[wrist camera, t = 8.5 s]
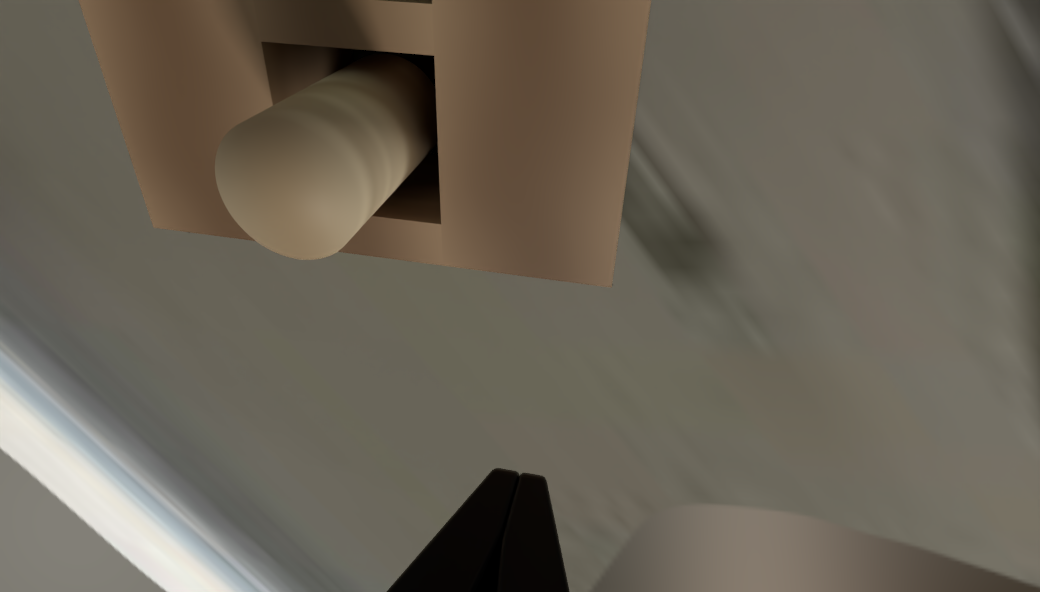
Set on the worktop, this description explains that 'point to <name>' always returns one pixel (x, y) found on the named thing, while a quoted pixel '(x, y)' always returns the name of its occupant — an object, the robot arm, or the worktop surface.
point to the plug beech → (327, 155)
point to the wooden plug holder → (459, 104)
